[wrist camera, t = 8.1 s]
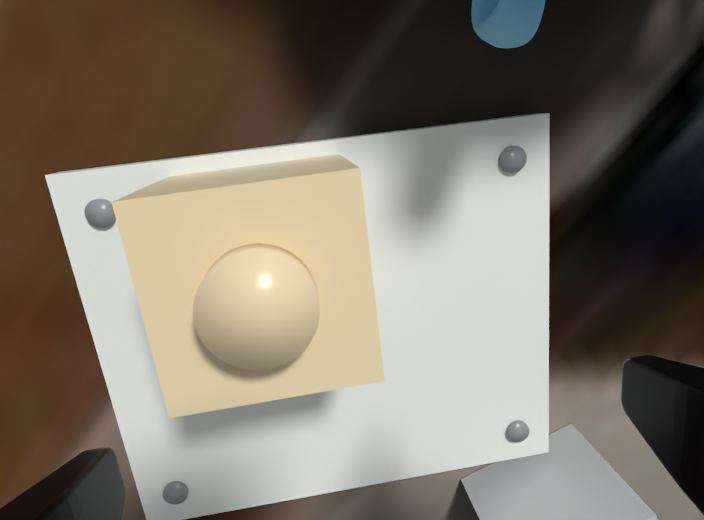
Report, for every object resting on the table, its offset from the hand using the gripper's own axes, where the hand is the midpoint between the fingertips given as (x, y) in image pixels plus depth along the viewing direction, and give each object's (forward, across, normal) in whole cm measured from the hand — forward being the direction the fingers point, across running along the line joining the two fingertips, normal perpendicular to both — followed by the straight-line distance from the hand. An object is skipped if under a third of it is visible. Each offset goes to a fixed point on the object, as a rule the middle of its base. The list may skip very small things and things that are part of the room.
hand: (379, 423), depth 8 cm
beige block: (+10, +2, -1) cm, 11 cm away
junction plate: (+12, 0, +3) cm, 12 cm away
